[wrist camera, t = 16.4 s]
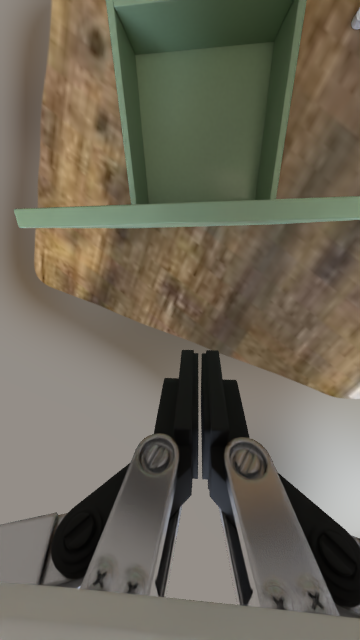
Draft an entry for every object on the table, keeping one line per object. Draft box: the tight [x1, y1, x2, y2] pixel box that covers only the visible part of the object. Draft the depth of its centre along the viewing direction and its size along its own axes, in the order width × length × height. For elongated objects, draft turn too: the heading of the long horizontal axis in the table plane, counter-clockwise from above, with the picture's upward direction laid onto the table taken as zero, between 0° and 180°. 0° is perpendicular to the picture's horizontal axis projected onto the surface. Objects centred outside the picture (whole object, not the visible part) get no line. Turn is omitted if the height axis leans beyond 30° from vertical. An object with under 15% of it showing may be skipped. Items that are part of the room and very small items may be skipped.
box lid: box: [14, 196, 360, 228], centre depth 16 cm, size 17×15×1 cm
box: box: [106, 0, 307, 205], centre depth 23 cm, size 16×15×7 cm
